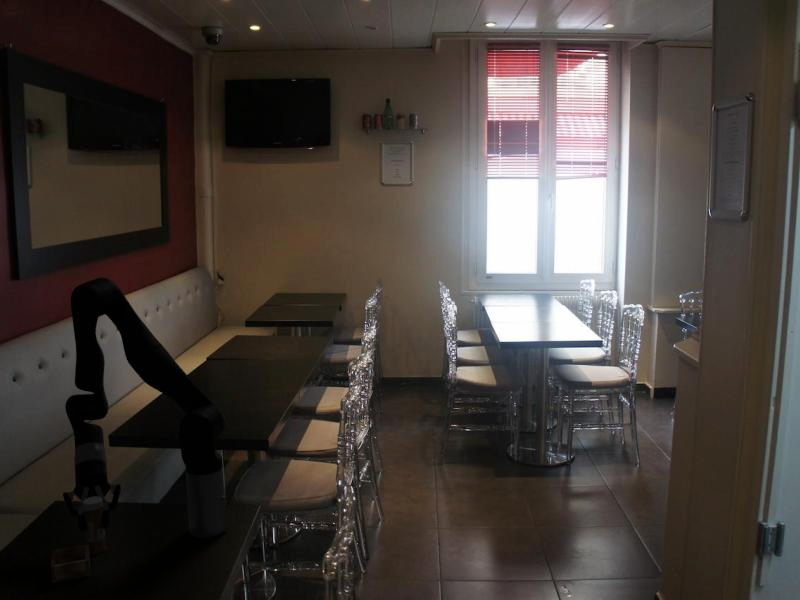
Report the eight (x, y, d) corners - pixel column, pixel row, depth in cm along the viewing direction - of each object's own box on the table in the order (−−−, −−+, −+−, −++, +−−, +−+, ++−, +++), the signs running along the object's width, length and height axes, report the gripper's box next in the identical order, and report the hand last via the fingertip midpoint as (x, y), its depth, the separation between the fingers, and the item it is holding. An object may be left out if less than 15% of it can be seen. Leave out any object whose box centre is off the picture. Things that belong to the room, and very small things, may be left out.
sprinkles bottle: (108, 551, 185) (104, 500, 183) (88, 556, 183) (84, 505, 180) (104, 543, 189) (99, 494, 187) (85, 548, 187) (80, 498, 184)
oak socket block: (90, 559, 182) (88, 544, 181) (90, 576, 175) (88, 560, 174) (53, 565, 179) (52, 550, 178) (52, 583, 172) (50, 567, 171)
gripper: (58, 462, 186) (61, 529, 178) (119, 454, 192) (125, 518, 183) (61, 474, 192) (64, 540, 183) (120, 465, 197) (125, 529, 189)
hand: (94, 529), depth 183 cm, fingers closed on sprinkles bottle, 4 cm apart
